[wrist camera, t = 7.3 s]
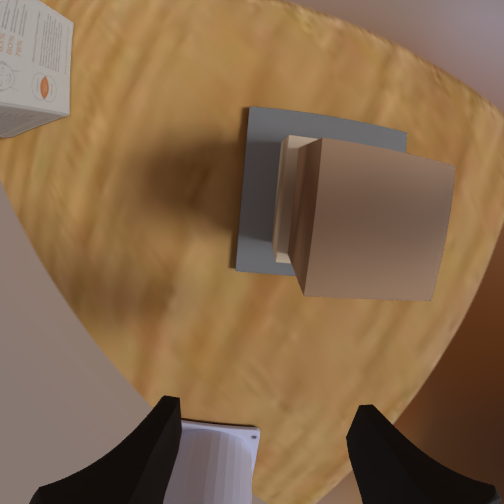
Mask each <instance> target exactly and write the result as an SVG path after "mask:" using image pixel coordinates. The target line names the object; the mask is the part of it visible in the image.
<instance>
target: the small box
mask: <svg viewBox="0 0 504 504" xmlns="http://www.w3.org/2000/svg"><path fill="white" fill-rule="evenodd" d="M73 25H74V23H73V22H71V21H70V20H68V19H67V18H65V17H64V16H62V15H61V14H59V13H58V12H56V11H55V10H53V9H52V8H50V7H48V6H47V5H45V4H44V3H42V2H41V1H39V0H0V137H14V136H16V135H19V134H21V133H23V132H26V131H28V130H31V129H33V128H36V127H38V126H41V125H44V124H46V123H49V122H52V121H55V120H58V119H60V118H63V117H66V116H69V115H70V64H71V47H72V35H73Z"/></svg>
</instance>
